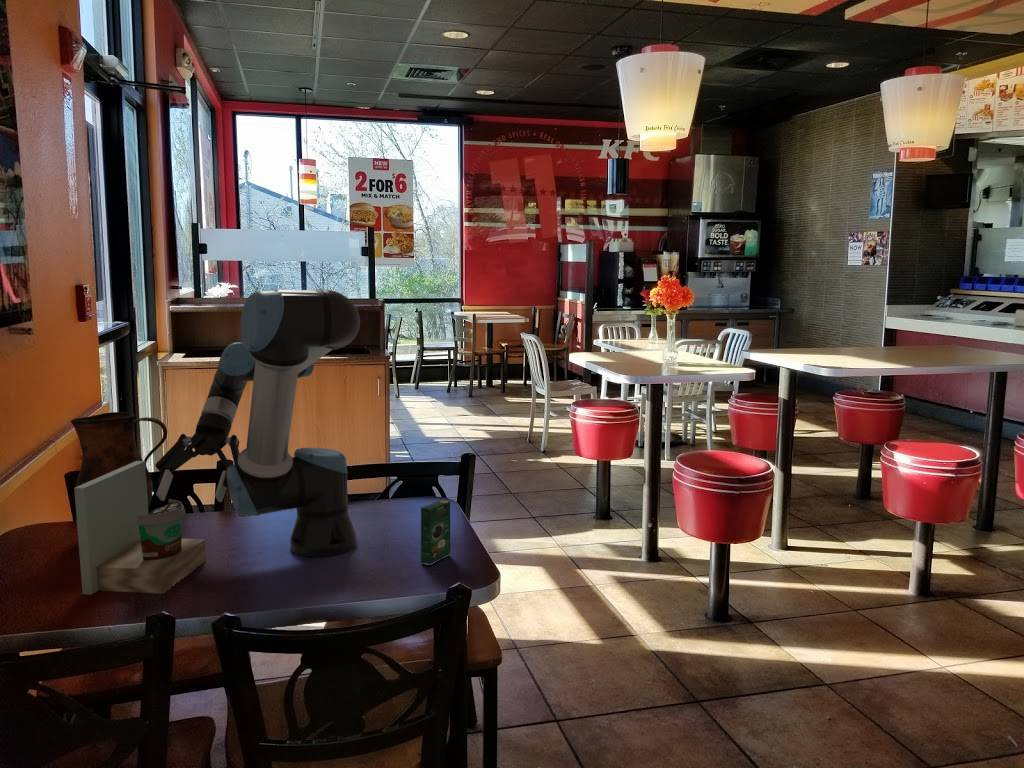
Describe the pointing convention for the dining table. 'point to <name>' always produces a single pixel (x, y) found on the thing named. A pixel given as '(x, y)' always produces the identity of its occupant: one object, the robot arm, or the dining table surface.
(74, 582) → the dining table surface
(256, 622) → the dining table surface
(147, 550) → the food container
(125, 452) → the pitcher
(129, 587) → the block
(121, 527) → the wall board
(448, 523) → the coffee box
